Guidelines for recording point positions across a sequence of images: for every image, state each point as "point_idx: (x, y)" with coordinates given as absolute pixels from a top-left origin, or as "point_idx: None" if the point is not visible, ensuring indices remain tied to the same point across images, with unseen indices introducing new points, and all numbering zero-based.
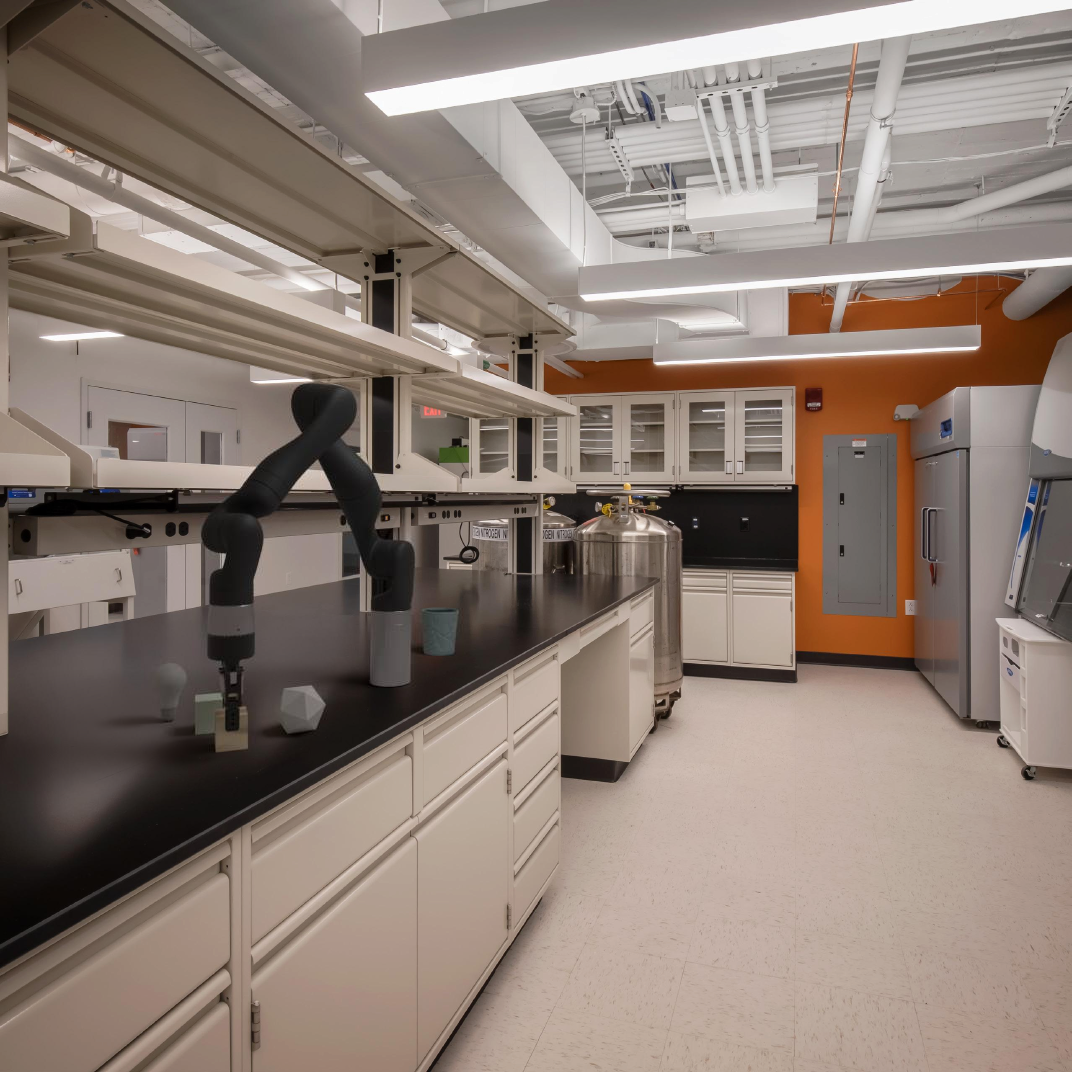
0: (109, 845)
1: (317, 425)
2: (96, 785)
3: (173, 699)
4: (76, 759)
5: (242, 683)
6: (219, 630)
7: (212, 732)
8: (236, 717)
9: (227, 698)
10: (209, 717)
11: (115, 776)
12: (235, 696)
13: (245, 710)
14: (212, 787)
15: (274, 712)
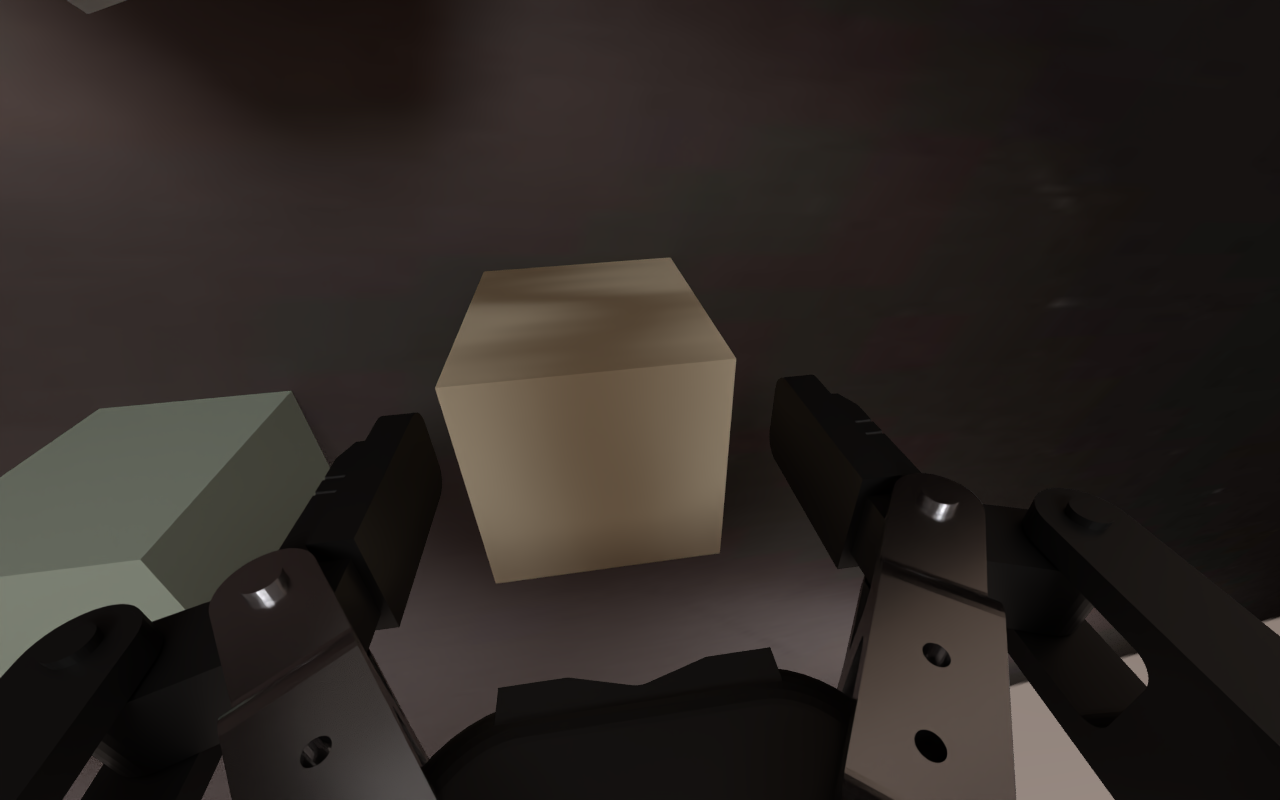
0: (1229, 551)
1: None
2: (832, 648)
3: None
4: None
5: (1002, 738)
6: None
7: (319, 452)
8: (893, 447)
9: (1122, 672)
10: (284, 533)
11: (785, 632)
12: (355, 543)
13: (592, 382)
14: (1087, 387)
15: (92, 2)
